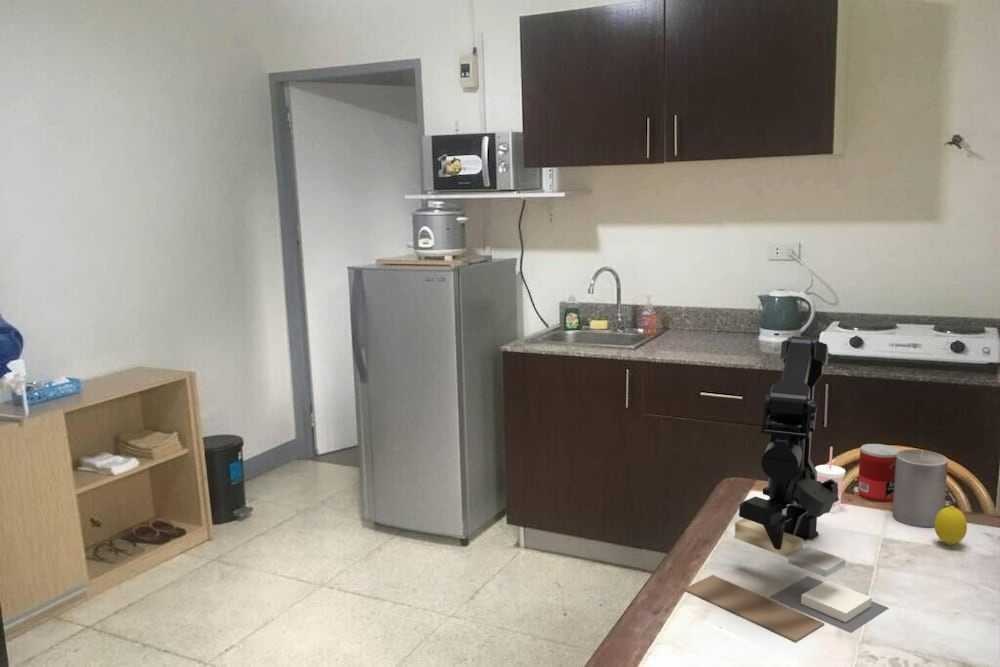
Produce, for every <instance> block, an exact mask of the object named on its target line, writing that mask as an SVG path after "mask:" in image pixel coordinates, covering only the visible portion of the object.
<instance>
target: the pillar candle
mask: <svg viewBox="0 0 1000 667" xmlns="http://www.w3.org/2000/svg"><path fill="white" fill-rule="evenodd" d="M948 461H949V460H948V458H947V457H946V456H945V455H943V454H941V453H938V452H935V451H931V450H925V449H902V450H900V451H899V452H898V453H897V455H896V469H895V484H894V500H892V517H893V519H895V520H896V521H898V522H899V523H901V524H904V525H907V526H910V527H914V526H915V527H918V528H922V527H923V528H935V519H936V516H937V514H938V512H939V511H940V510H942V509H944V508H946V492H947V480H948V478H947V476H948V475H947V474H948V464H949V462H948Z"/></svg>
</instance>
